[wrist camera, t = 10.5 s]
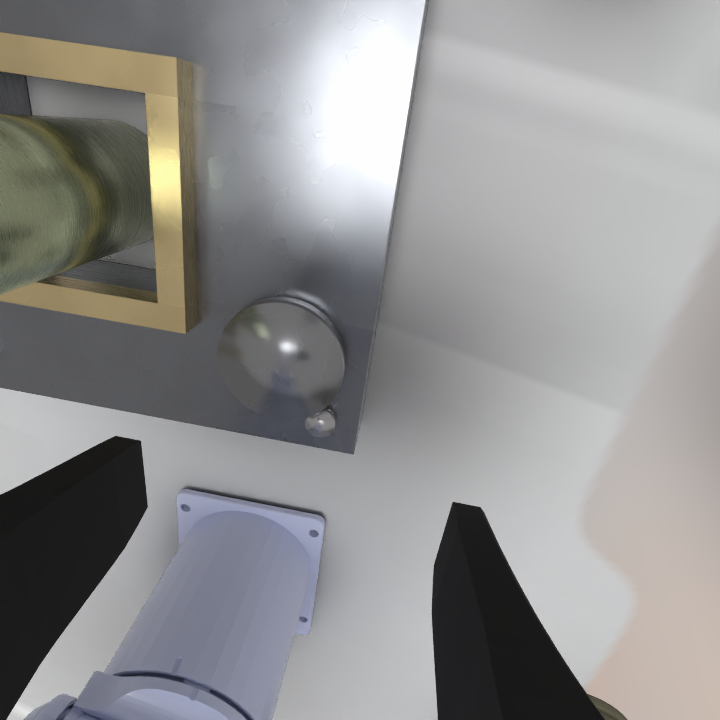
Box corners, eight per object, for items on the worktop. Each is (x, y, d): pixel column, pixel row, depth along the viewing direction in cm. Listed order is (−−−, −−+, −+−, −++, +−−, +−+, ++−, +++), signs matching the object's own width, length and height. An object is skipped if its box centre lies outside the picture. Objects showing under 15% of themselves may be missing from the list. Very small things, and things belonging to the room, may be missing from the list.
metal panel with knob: (360, 421, 22) (350, 469, 19) (-1, 355, 23) (-68, 389, 20) (441, -79, 14) (445, -141, 11) (-117, -147, 15) (-261, -223, 12)
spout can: (174, 253, 20) (-48, 355, 10) (69, 230, 20) (-242, 311, 10) (175, 129, 17) (-103, 120, 8) (57, 105, 18) (-344, 68, 8)
